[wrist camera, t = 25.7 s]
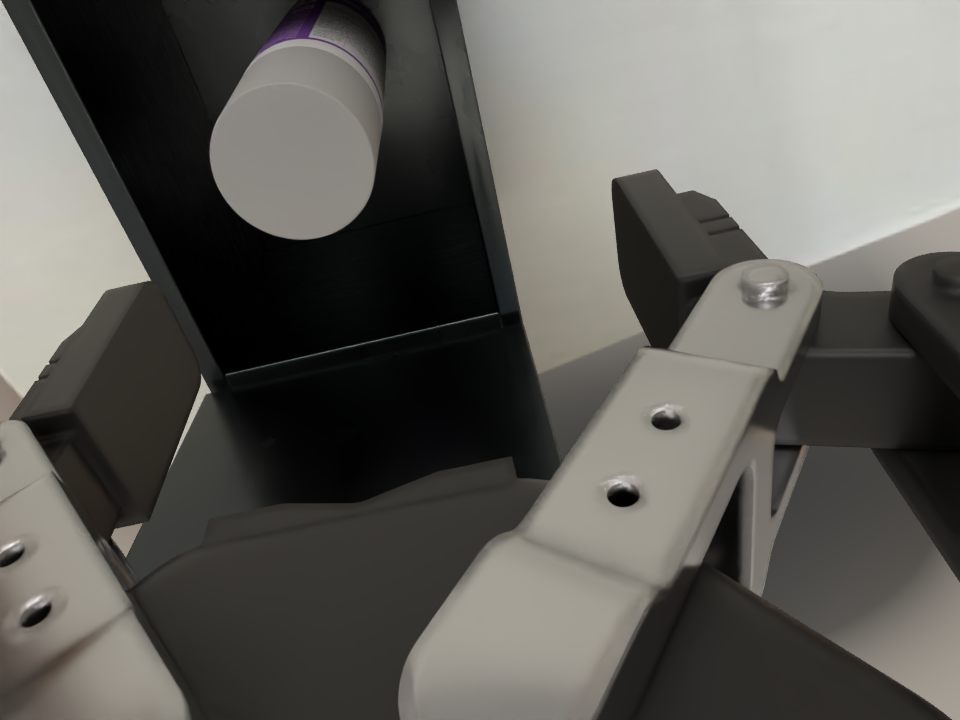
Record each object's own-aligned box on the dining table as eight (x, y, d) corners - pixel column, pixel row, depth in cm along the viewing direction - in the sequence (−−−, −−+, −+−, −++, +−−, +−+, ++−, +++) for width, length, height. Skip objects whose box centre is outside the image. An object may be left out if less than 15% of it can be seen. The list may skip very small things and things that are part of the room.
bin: (114, -76, 30) (-24, -44, 20) (415, -153, 29) (424, -158, 19) (258, 260, 39) (212, 395, 29) (491, 206, 38) (523, 324, 28)
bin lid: (-15, 841, 14) (113, 966, 17) (631, 711, 13) (659, 861, 16) (205, 393, 28) (255, 498, 31) (523, 321, 28) (547, 435, 30)
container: (290, 106, 34) (227, 250, 21) (269, -7, 31) (183, 83, 19) (392, 99, 34) (388, 237, 21) (380, -14, 31) (368, 70, 19)
